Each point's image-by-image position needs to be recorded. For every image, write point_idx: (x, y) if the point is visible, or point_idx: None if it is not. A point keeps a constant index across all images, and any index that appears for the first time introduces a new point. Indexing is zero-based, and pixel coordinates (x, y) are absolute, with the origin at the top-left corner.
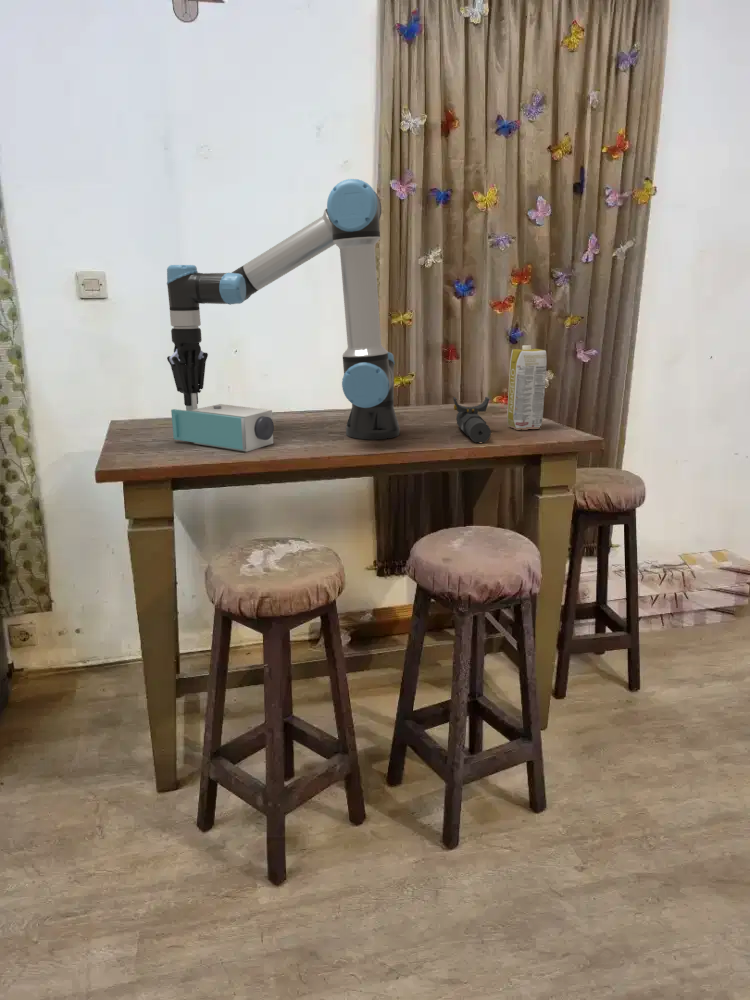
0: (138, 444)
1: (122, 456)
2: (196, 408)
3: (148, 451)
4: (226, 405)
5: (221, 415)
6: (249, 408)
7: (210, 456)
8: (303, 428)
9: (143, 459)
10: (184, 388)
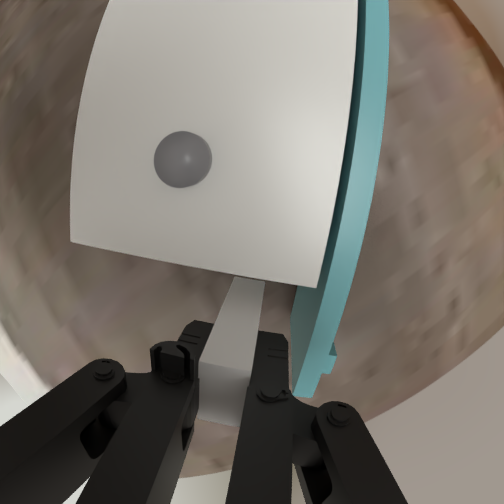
0: (358, 380)
1: (478, 324)
2: (235, 300)
3: (433, 305)
4: (85, 175)
5: (376, 24)
6: (128, 3)
7: (433, 83)
8: (15, 75)
9: (500, 257)
10: (355, 429)
